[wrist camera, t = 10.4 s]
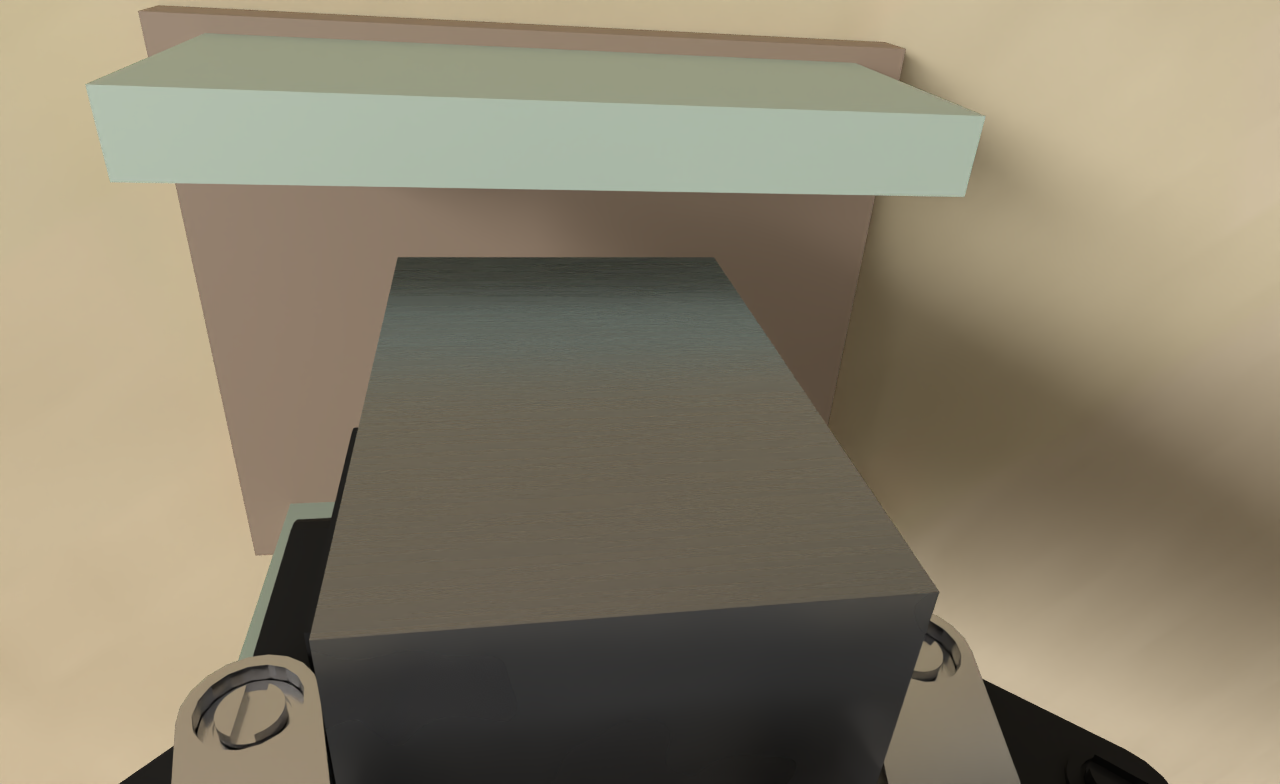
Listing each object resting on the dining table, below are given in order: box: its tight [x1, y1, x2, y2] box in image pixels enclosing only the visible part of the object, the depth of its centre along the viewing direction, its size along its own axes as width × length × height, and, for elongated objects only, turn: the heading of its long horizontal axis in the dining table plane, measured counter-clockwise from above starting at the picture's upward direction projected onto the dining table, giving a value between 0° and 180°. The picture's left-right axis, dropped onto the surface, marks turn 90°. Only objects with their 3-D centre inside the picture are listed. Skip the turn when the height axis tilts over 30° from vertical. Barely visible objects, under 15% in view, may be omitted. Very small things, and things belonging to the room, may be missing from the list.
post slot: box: [85, 5, 985, 661], centre depth 16 cm, size 14×12×6 cm
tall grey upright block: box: [309, 257, 939, 784], centre depth 11 cm, size 4×7×7 cm, turn 176°
